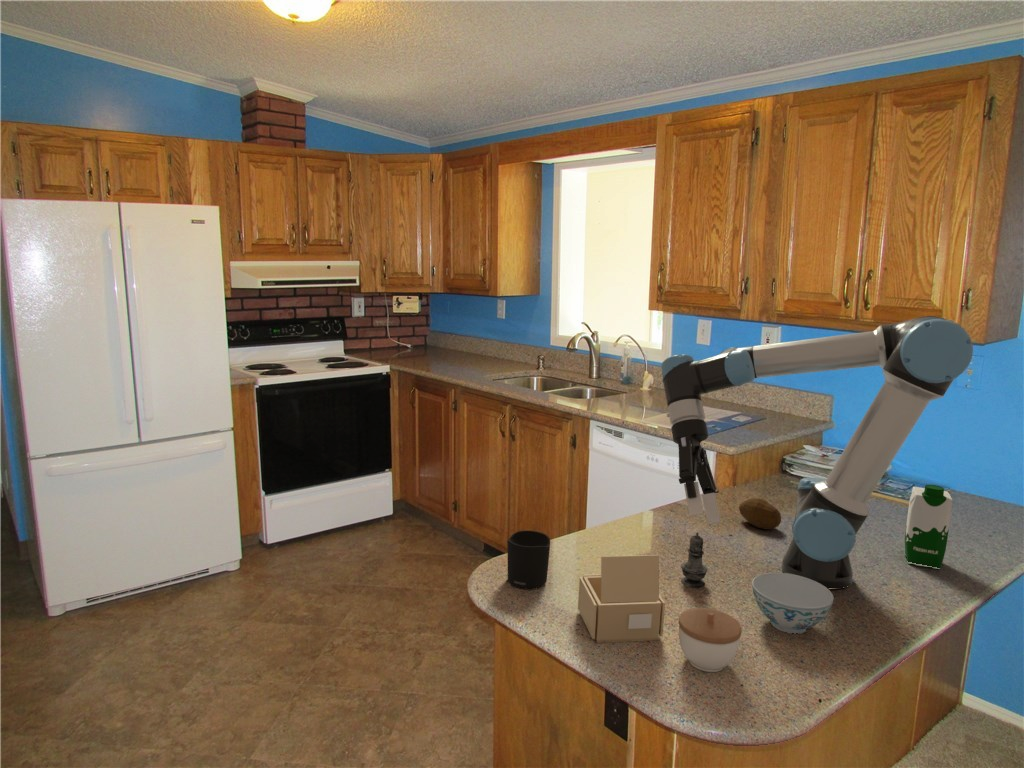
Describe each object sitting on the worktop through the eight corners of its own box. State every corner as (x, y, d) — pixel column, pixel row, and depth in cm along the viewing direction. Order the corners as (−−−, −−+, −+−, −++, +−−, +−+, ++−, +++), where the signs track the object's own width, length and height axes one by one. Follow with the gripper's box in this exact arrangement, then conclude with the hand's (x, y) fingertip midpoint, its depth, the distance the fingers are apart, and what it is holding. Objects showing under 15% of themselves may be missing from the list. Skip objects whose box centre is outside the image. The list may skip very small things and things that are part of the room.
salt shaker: (692, 590, 149) (696, 538, 147) (674, 579, 155) (678, 529, 153) (712, 585, 152) (716, 534, 150) (693, 575, 157) (698, 525, 155)
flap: (658, 600, 128) (657, 554, 128) (659, 600, 127) (658, 555, 127) (601, 602, 126) (601, 556, 126) (601, 602, 125) (601, 556, 126)
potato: (773, 536, 183) (776, 508, 182) (730, 523, 192) (732, 496, 190) (786, 528, 189) (788, 502, 187) (743, 516, 197) (746, 490, 196)
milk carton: (903, 564, 167) (914, 486, 164) (900, 551, 175) (910, 477, 172) (945, 572, 164) (957, 492, 160) (940, 558, 172) (951, 482, 169)
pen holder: (498, 576, 153) (499, 534, 151) (534, 568, 157) (536, 527, 156) (519, 594, 145) (521, 550, 143) (556, 585, 149) (558, 542, 148)
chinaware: (741, 604, 144) (744, 569, 143) (814, 610, 143) (818, 575, 141) (759, 641, 129) (763, 604, 128) (841, 648, 128) (845, 610, 127)
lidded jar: (671, 671, 119) (675, 621, 117) (679, 641, 129) (683, 594, 127) (736, 686, 115) (741, 635, 113) (739, 654, 125) (743, 606, 123)
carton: (640, 607, 141) (643, 573, 140) (663, 641, 128) (666, 604, 127) (576, 609, 139) (578, 574, 138) (593, 644, 126) (595, 606, 125)
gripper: (687, 439, 161) (704, 529, 153) (653, 412, 141) (669, 514, 133) (719, 432, 158) (737, 523, 150) (688, 403, 138) (707, 507, 130)
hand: (705, 519), depth 142 cm, fingers open, 13 cm apart
